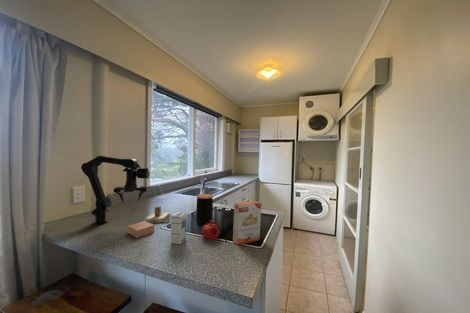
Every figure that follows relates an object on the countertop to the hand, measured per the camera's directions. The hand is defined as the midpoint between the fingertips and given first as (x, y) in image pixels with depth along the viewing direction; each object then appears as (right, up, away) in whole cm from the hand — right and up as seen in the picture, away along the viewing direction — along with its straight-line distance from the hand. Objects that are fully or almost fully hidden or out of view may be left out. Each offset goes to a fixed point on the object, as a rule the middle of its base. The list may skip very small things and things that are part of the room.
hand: (131, 202), depth 126 cm
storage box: (+13, -14, -14) cm, 23 cm away
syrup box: (+37, -15, -23) cm, 46 cm away
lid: (+14, -12, +7) cm, 20 cm away
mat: (+14, -13, +7) cm, 21 cm away
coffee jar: (+46, -15, +5) cm, 49 cm away
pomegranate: (+53, -16, -17) cm, 58 cm away
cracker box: (+73, -16, -20) cm, 77 cm away
